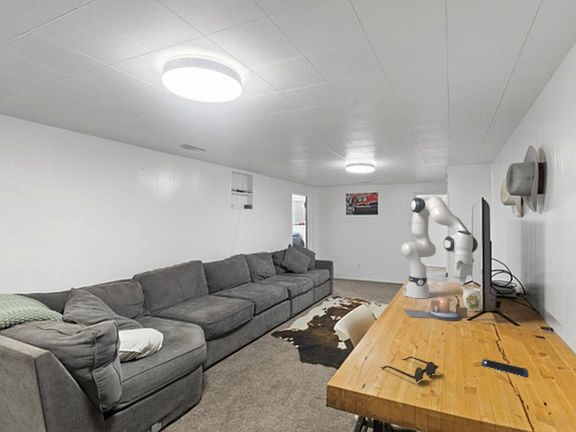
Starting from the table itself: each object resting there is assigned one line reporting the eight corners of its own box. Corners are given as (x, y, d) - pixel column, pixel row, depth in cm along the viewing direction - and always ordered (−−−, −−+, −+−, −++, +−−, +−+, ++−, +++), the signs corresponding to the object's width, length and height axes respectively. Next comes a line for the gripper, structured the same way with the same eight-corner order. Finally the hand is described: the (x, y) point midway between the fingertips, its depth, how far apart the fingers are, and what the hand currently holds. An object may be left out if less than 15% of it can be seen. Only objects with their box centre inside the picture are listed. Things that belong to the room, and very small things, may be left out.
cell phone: (483, 360, 127) (483, 358, 127) (527, 371, 118) (527, 369, 118) (481, 367, 121) (481, 365, 121) (527, 378, 112) (527, 376, 112)
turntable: (435, 317, 177) (436, 308, 177) (426, 310, 191) (426, 302, 191) (472, 319, 175) (472, 310, 175) (460, 312, 189) (461, 303, 189)
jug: (428, 309, 187) (428, 296, 187) (448, 310, 186) (449, 297, 186) (432, 312, 181) (432, 298, 181) (453, 313, 180) (453, 299, 180)
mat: (403, 310, 194) (403, 309, 194) (423, 311, 193) (423, 310, 193) (410, 317, 180) (410, 316, 180) (432, 318, 179) (432, 317, 179)
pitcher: (492, 315, 187) (493, 292, 187) (457, 310, 196) (458, 288, 196) (491, 311, 196) (491, 288, 196) (458, 306, 205) (458, 285, 205)
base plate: (423, 311, 192) (423, 310, 192) (452, 312, 191) (452, 311, 191) (433, 320, 175) (433, 319, 175) (466, 321, 174) (466, 320, 174)
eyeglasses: (414, 386, 105) (414, 371, 105) (377, 368, 117) (377, 355, 117) (438, 374, 114) (438, 360, 114) (401, 359, 126) (401, 346, 126)
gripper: (463, 262, 171) (462, 288, 171) (474, 259, 185) (474, 282, 185) (450, 260, 175) (450, 285, 175) (462, 257, 190) (462, 281, 190)
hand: (462, 284), depth 180 cm, fingers closed
